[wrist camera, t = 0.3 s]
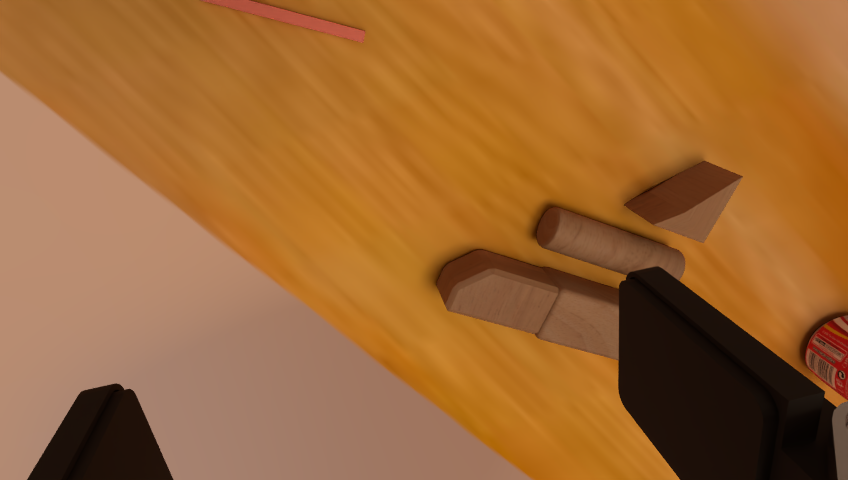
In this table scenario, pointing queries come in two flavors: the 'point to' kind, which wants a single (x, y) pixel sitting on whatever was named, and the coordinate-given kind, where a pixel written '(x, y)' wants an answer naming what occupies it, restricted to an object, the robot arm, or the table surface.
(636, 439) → the table surface
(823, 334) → the soda can
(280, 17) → the stick
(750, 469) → the robot arm
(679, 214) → the wooden block set
